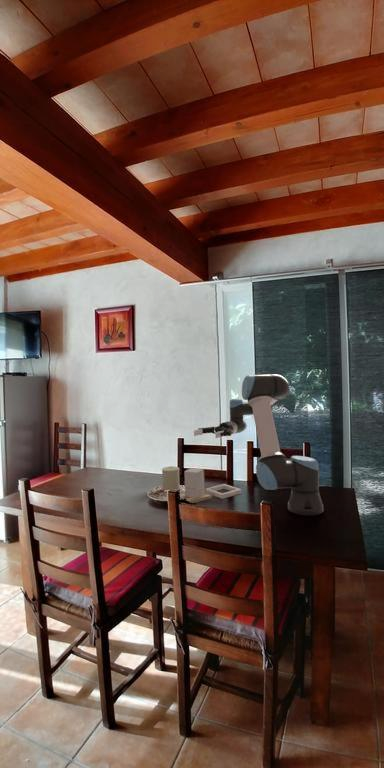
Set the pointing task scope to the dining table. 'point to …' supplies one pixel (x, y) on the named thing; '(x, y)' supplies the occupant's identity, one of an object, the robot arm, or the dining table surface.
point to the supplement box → (194, 483)
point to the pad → (194, 500)
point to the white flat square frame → (231, 492)
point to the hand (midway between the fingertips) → (205, 434)
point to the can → (170, 478)
